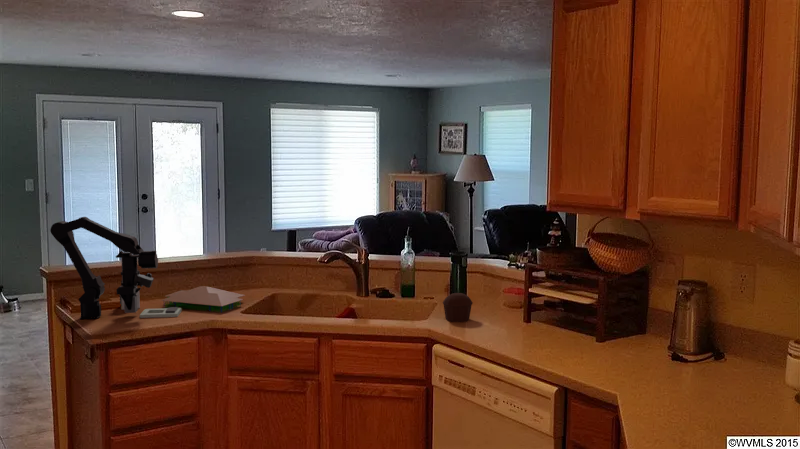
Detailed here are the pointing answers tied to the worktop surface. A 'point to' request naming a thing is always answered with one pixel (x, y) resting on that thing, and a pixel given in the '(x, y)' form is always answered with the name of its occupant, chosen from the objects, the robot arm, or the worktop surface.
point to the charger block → (134, 306)
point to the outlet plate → (161, 312)
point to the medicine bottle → (123, 301)
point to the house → (204, 298)
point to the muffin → (457, 307)
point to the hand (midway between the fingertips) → (131, 308)
